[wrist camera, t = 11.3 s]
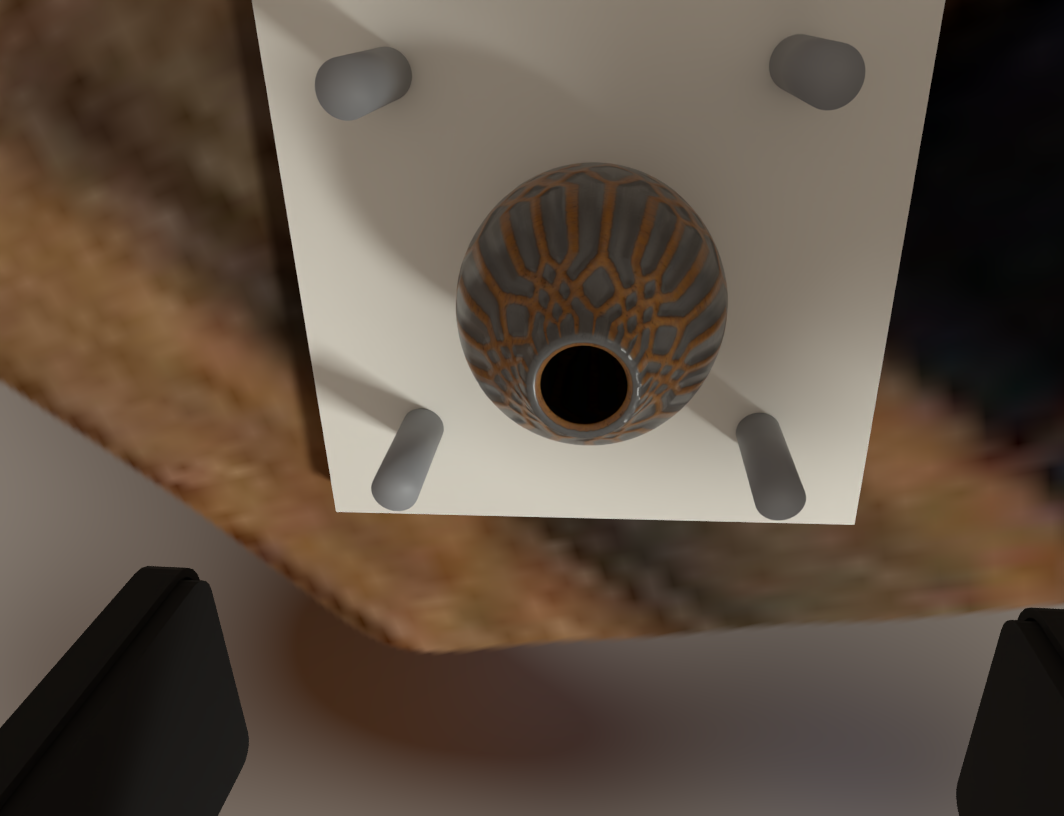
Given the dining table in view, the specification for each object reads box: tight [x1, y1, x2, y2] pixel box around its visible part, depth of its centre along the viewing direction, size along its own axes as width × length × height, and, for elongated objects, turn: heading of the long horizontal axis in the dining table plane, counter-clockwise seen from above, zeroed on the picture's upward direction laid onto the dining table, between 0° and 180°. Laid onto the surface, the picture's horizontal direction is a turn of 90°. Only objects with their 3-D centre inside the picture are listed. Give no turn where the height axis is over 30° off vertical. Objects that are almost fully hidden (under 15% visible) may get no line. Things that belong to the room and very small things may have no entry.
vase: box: [456, 162, 728, 445], centre depth 21 cm, size 7×7×9 cm
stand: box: [252, 0, 945, 525], centre depth 23 cm, size 18×18×6 cm
